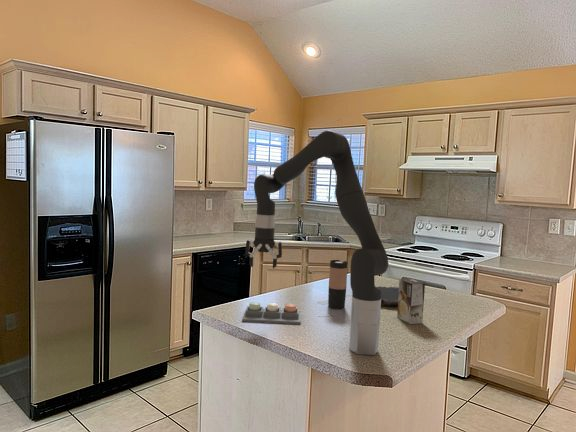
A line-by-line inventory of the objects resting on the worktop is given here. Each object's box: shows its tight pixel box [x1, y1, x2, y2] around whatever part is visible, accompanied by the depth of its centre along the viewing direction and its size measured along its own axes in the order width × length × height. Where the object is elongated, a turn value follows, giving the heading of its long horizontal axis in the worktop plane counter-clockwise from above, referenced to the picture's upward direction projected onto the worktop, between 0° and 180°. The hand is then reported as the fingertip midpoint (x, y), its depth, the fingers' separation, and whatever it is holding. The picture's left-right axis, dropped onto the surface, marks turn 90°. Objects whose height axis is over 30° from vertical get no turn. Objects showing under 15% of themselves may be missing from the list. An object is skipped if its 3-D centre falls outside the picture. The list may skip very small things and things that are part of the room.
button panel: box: [241, 305, 302, 325], centre depth 168 cm, size 14×22×3 cm, turn 89°
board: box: [377, 286, 399, 307], centre depth 200 cm, size 22×22×5 cm
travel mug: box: [327, 259, 349, 310], centre depth 186 cm, size 8×8×20 cm
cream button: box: [266, 302, 279, 312], centre depth 168 cm, size 4×4×2 cm
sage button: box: [248, 301, 261, 311], centre depth 168 cm, size 4×4×2 cm
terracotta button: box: [284, 303, 297, 313], centre depth 168 cm, size 4×4×2 cm
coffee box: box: [396, 278, 426, 325], centre depth 172 cm, size 9×6×16 cm
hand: (262, 267), depth 169 cm, fingers open, 8 cm apart
